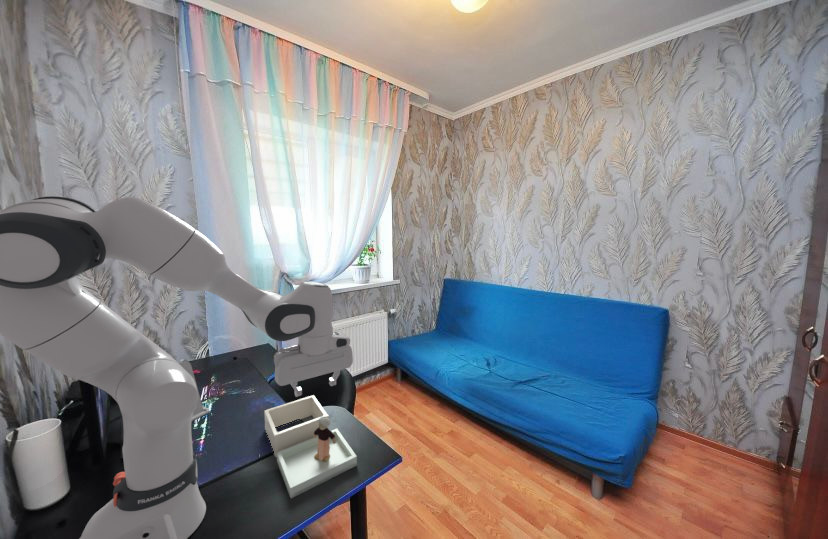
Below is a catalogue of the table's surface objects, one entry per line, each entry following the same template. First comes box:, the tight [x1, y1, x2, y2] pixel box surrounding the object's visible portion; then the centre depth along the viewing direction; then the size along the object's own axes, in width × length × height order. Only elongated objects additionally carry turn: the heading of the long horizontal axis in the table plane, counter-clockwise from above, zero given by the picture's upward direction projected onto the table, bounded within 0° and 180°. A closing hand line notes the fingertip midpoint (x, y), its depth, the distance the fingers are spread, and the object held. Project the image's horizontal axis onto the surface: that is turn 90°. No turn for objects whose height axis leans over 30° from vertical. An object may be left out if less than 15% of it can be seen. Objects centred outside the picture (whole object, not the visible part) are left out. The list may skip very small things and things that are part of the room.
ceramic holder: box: [263, 394, 330, 458], centre depth 96 cm, size 16×14×7 cm
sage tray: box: [276, 428, 358, 499], centre depth 85 cm, size 18×14×3 cm
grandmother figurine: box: [313, 416, 336, 462], centre depth 85 cm, size 8×4×13 cm, turn 82°
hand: (316, 389), depth 81 cm, fingers open, 8 cm apart
